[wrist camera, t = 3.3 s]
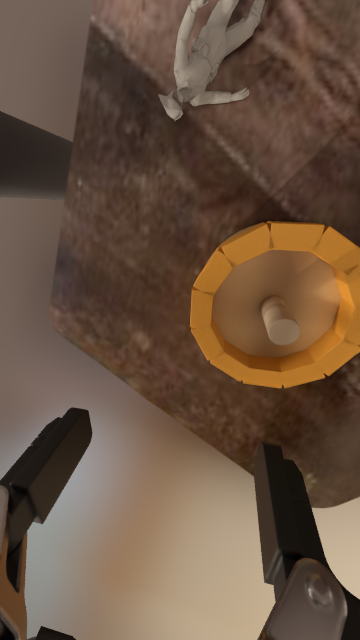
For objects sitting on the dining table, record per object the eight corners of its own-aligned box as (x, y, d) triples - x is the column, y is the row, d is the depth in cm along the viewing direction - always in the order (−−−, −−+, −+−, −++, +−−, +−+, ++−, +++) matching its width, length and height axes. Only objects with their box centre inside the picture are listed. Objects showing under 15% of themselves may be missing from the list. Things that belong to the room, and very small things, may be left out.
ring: (190, 362, 31) (187, 375, 28) (198, 218, 24) (195, 219, 21) (333, 380, 28) (343, 397, 26) (393, 225, 21) (415, 228, 19)
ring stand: (195, 345, 34) (184, 393, 26) (203, 218, 27) (191, 222, 18) (321, 360, 32) (357, 419, 23) (367, 224, 25) (447, 233, 16)
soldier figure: (299, 24, 20) (217, 153, 22) (254, 36, 23) (185, 149, 25) (274, -133, 14) (165, 61, 16) (218, -89, 17) (131, 70, 19)
